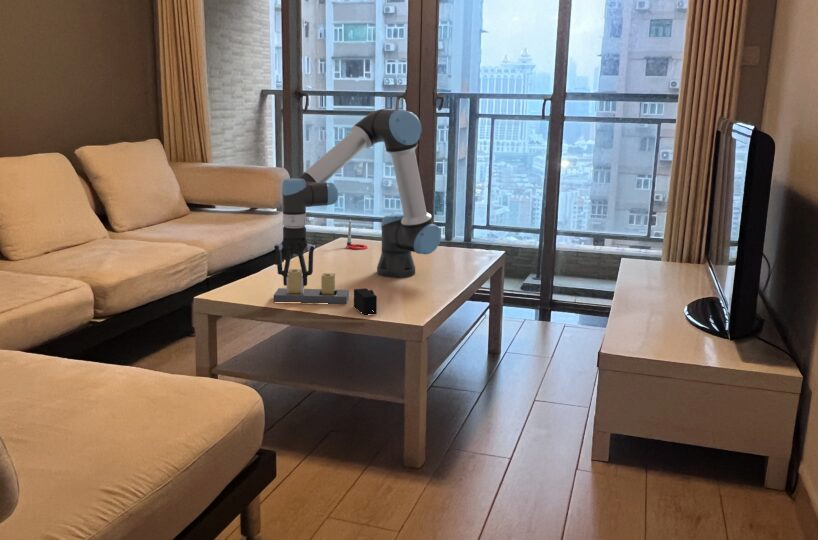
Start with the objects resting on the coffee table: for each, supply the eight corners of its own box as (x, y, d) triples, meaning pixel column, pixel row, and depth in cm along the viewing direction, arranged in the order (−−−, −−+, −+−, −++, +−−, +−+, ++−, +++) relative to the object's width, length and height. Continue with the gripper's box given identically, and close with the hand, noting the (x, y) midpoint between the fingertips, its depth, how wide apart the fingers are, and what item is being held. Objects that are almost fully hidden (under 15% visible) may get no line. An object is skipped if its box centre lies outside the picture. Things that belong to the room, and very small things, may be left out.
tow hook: (368, 247, 351) (348, 245, 351) (370, 219, 347) (350, 218, 348) (365, 251, 342) (345, 249, 343) (367, 223, 339) (346, 221, 340)
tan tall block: (302, 295, 259) (302, 269, 257) (300, 298, 255) (300, 271, 253) (290, 295, 259) (290, 268, 257) (288, 298, 255) (288, 271, 253)
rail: (348, 299, 262) (348, 289, 261) (346, 307, 253) (346, 296, 252) (278, 298, 262) (278, 288, 261) (273, 305, 253) (273, 295, 252)
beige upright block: (334, 299, 259) (334, 273, 257) (333, 302, 255) (333, 276, 253) (323, 299, 259) (322, 273, 257) (321, 302, 255) (321, 275, 253)
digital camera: (380, 316, 243) (380, 295, 242) (364, 318, 241) (364, 297, 240) (369, 308, 253) (369, 287, 251) (353, 309, 251) (353, 288, 249)
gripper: (266, 227, 248) (268, 297, 253) (319, 228, 248) (319, 298, 253) (270, 223, 255) (272, 291, 261) (321, 224, 255) (322, 292, 260)
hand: (295, 294), depth 257 cm, fingers closed on tan tall block, 4 cm apart
